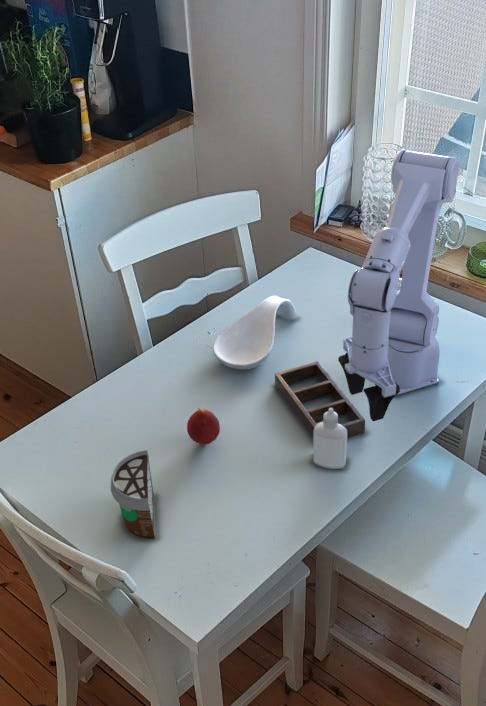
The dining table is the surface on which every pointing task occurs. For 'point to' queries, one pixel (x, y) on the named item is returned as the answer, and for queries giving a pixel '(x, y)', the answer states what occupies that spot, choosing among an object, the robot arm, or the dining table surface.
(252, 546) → the dining table surface
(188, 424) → the onion
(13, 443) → the dining table surface
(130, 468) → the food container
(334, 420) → the eye dropper bottle
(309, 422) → the spice rack
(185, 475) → the dining table surface
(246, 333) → the spoon rest
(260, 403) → the dining table surface
